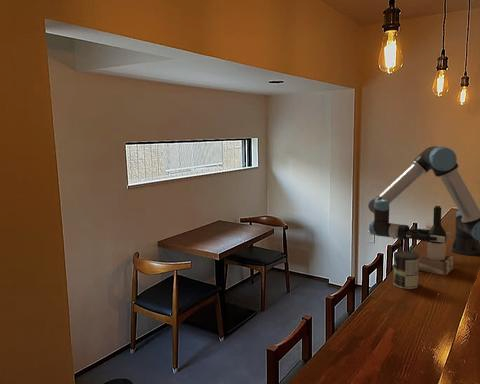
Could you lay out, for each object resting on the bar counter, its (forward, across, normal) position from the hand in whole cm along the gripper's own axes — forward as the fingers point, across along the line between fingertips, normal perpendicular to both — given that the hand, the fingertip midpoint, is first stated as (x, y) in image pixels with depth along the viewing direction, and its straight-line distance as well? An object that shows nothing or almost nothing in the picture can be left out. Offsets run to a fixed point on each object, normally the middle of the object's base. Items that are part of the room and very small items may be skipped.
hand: (447, 237), depth 189 cm
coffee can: (-9, +29, -17) cm, 35 cm away
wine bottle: (-5, 0, -15) cm, 16 cm away
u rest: (-5, 0, -16) cm, 17 cm away
